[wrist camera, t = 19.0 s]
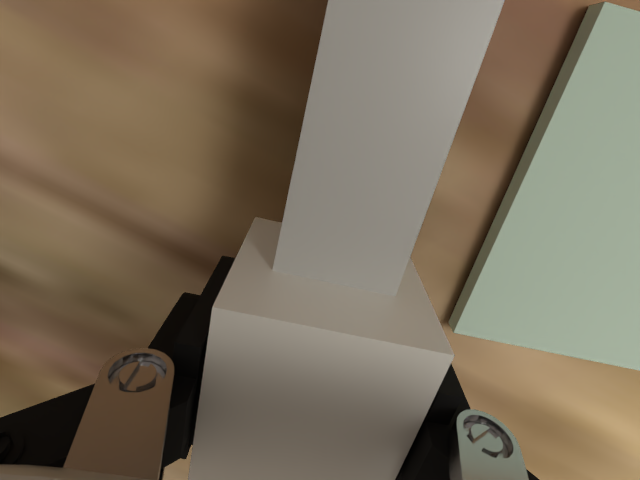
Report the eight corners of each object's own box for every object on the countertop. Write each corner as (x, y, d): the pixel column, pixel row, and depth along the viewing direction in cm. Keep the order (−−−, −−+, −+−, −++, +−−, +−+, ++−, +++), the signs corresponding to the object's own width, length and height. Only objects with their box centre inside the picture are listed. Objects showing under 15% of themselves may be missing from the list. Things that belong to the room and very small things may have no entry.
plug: (351, -337, 7) (395, -994, 3) (590, -254, 7) (963, -711, 3) (223, 400, 14) (179, 542, 10) (344, 422, 14) (352, 567, 10)
